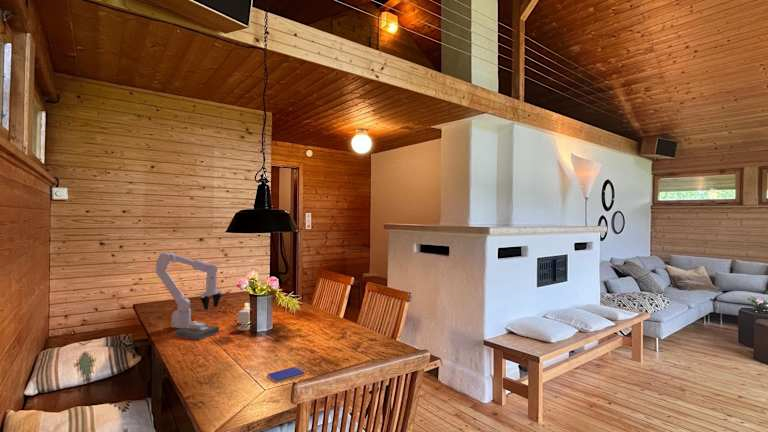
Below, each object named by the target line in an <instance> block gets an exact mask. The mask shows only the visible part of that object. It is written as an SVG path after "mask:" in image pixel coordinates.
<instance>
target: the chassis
mask: <svg viewBox="0 0 768 432" xmlns="http://www.w3.org/2000/svg"><path fill="white" fill-rule="evenodd" d="M187 327H189V326H187ZM205 327H208V329H206V330H204V331H197V330H190V329H186V327H184V328H177V329H175V330H174V337H178V338H184V339H185V338H186V339H190V340H191V339H192V340H197V341H198V340H199V341H200V340H202V339H205V338H207V337H211V336H212V335H215V334H218V333H220V332H219V331H220V326H216V325H215V326H214V325H209V324H205Z"/></svg>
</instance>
